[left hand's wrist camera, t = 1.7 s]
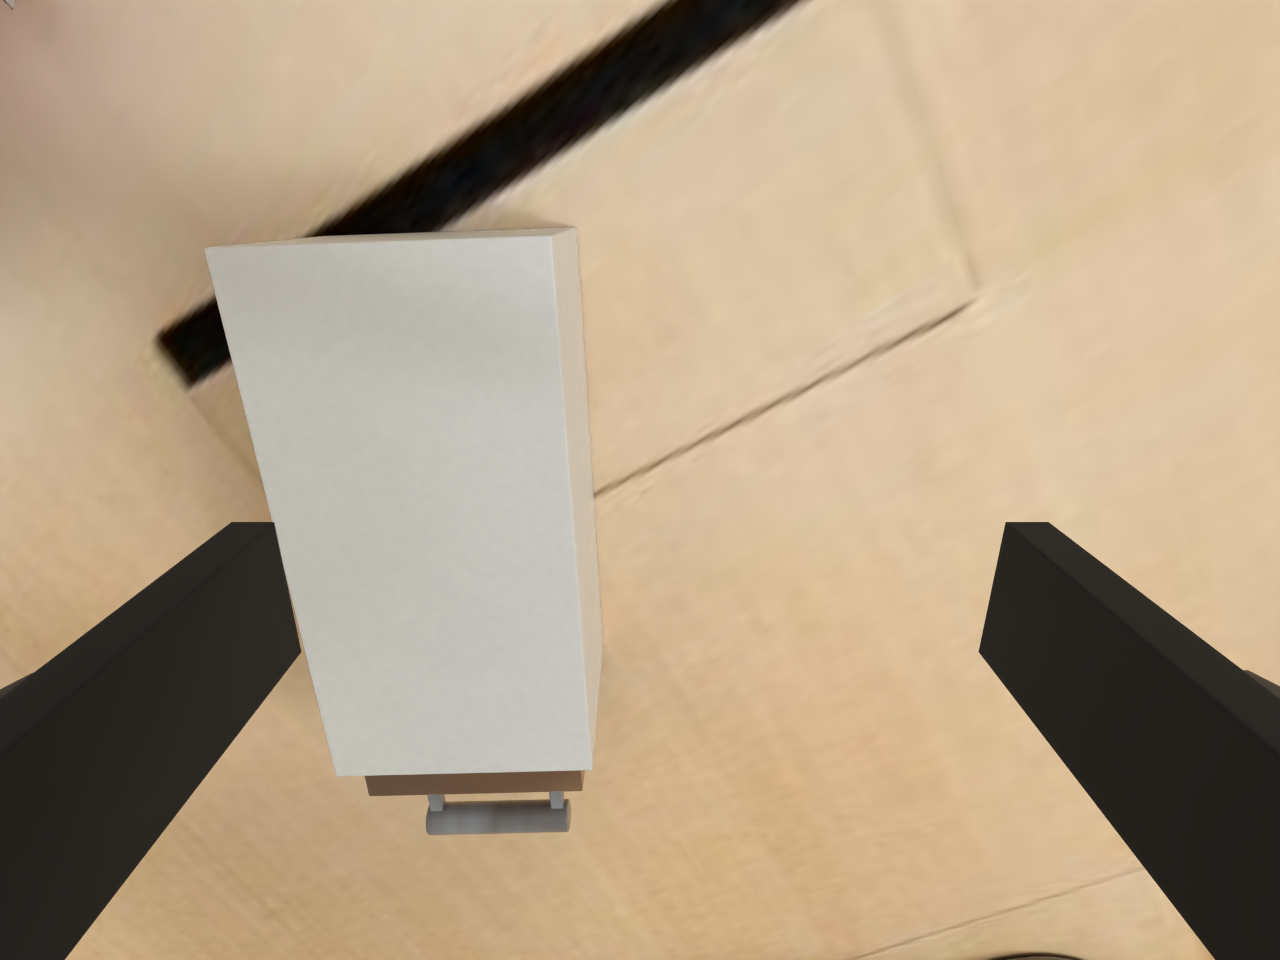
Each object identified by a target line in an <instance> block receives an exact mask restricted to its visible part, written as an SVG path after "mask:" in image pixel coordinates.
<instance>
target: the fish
mask: <svg viewBox="0 0 1280 960" xmlns="http://www.w3.org/2000/svg"><path fill="white" fill-rule="evenodd" d="M3 1H4V2H5V3H6V4H7V5H8V6H9V7H10V8H11V9H12V10H13V8H14V6H15V2H16V0H3Z"/></svg>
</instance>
